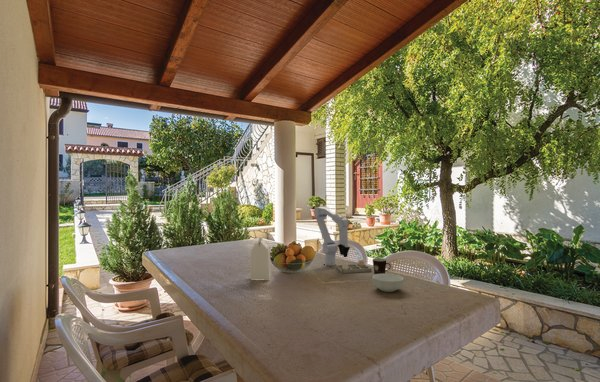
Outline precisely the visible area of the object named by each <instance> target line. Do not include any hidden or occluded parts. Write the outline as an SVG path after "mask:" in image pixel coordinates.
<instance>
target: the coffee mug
mask: <svg viewBox="0 0 600 382" xmlns="http://www.w3.org/2000/svg"><path fill="white" fill-rule="evenodd" d="M387 265H388V266H389V267H388V269H386V267H387ZM372 266H373V272H374V274H373V275H375V274H386V272H388V271H389V270H390V269H392V268H391V267H392V266H391V263H389V262H387V259H385V258H382V257H377V258H372Z"/></svg>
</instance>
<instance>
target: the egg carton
mask: <svg viewBox="0 0 600 382" xmlns="http://www.w3.org/2000/svg"><path fill="white" fill-rule="evenodd" d="M335 266H336V270H338V271H339V272H340V273H341V274H353V273H369V272H370V273H371V272H372V268H371V267H369V266H368V265H367V264H365V263H364V266H358V263H355V264H354V263H353V264H348V266H349V269H347V270H343V269H342V266H343V264H336V265H335Z"/></svg>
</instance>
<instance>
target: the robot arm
mask: <svg viewBox="0 0 600 382" xmlns="http://www.w3.org/2000/svg"><path fill="white" fill-rule="evenodd" d="M313 215H314V217H315V220H316V224H317V225H318V229H319V232H320V234H321V236H322V239H323V243H322V244H321V246H322V251H323V253H324V254H325V255H324V264H326V265H325V266H336V265H335V264H336V254H337V252H338V250H339V253H340V254H339V255H341V256H343V258H347V257H348V254H349V251H350V249H351V246H349V242H348V241H349V239H348V237H349V236H348V232H349V231H348V227H349V226H350V219H348V217H347V218H346V217H344V216H341V215H340V214H339V213H334V212H333V211H331V209H330V208H329V207H328V206H315V207H314V211H313ZM327 216H328V217H330V218H331V220H332V221H333V222H334V223H335V224H336V225H337V228H338V230H339V231H338V232H339V233H338V240H339V241H338V242H337V243H336V242H335V240H333V239H332V238H331V234H330V232H329V230H328V227H327V224H326V222H325V219H326V218H327Z"/></svg>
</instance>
